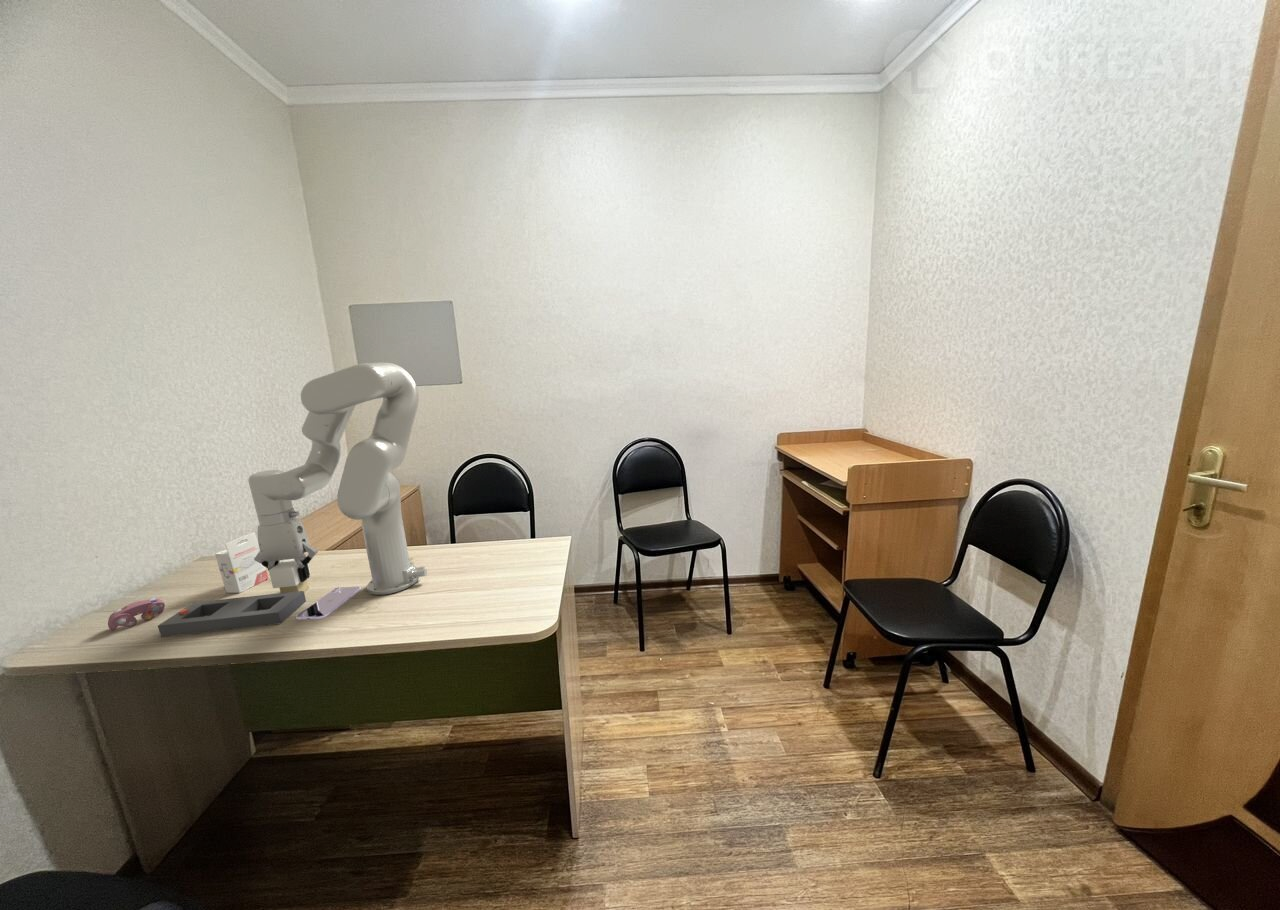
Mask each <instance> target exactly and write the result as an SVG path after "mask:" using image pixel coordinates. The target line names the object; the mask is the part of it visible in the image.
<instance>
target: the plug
mask: <svg viewBox="0 0 1280 910" xmlns="http://www.w3.org/2000/svg"><path fill="white" fill-rule="evenodd" d="M310 567H311V566H310V562H309V563H308V568H309V572H310V575H311V574H312V572H311V568H310ZM298 568H299V566H298V565H297V563H296V562H295V560H294V559H287V560H281V562H280V563H279V564H277V565H276V566H275V567H273V568H272V569H270V570H269V571H268V574H269V577H270V581H271V585H272V588H273V589H278V588H279V592H280V593H287V592H297V591H304V592H306V591H307V590H308V589H309V583H308V579H307V580H305V581H304V582H301V581H300V578H299V574H298Z"/></svg>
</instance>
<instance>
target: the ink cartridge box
mask: <svg viewBox="0 0 1280 910" xmlns="http://www.w3.org/2000/svg"><path fill="white" fill-rule="evenodd" d="M241 541H242V542H241ZM224 545H225V547H226V549H224V550H221V551H218V552H216V553H215V554H214V556H215V559H216V562H217V567H218V569H219V573H220V575H221V579H222V582H223V586H224V589H225V593H232V594H241V593H243V592H245V591H247V590H249V589H251V588H253V587H254V586H257V585H259V584H261V583H262V582H264V581H267V580H268V579H269V575H268V572H267V571H268V570H267V568H266V567H265V566H263V565H262V564H260V563H259V562H257V561H255V560H254V558H255V557H256V555H257V554H258V553H259V551H260V549H259V544H258V536H257V535H256V532H250V533H248V534H247V535H243V536H240V537H238V538H236V539H234V540H231V541H228V542H226V543H225V544H224ZM266 579H267V580H266Z"/></svg>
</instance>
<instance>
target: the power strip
mask: <svg viewBox="0 0 1280 910" xmlns="http://www.w3.org/2000/svg"><path fill="white" fill-rule="evenodd" d="M306 602H307V600H306V595H305V591H297V592H287V593H281V592H280V593H271V594H262V595H261V594H258V595H251V596H240V597H233V598H232V597H230V598H223V599H216V600H212V599H211V600H204V601H195V602H192V603H191V604H189V605H187V606H186V607H184V608H183V609H181V610H180V611H178V612H176V613H175V614H174V615H172V616H171V617H169V618H167V619H166V620H164V621H163V622H161V623H160V624H157V629H158V632H159V634H160V638H166V637H174V636H183V635H184V636H185V635H192V634H202V633H211V632H212V633H213V632H220V631H229V630H237V629H238V630H239V629H247V628H256V627H263V626H271V625H272V626H273V625H282V624H283V622H285V621H286V620H287V619H288V618H289V617H291V615H293V614H294V613H295V612H296V611H297V610H298V609H299V608H301V606H303V605H304V604H305V603H306Z"/></svg>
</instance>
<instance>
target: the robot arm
mask: <svg viewBox="0 0 1280 910" xmlns="http://www.w3.org/2000/svg"><path fill="white" fill-rule="evenodd" d="M419 397H420V395H419V389H418V386H417V383H416V382H415V379H414V378H413V376H412V375H411V374H410V373H409V372H408V371H407V370H405V368H403V367H402V366H400V365H398V364H395V363H392V362H385V361H384V362H382V361H379V362H364V363H358V364H355V365H352V366H349V367H346V368H345V367H344V368H343V369H340V370H337V371H334V372H331V373H328V374H325V375H323V376H319V377H316V378H313V379H311V380H309V381H308V382H307V383H305V385H304V386H303V387H302V389H301V392H300V400H301V405H302V406H303V407H304V408H305V409H306V411H308V413H307V416H306V417H305V420H304V423H303V424H302V427H301V433H302V435H303V436H304V437H306V438H307V439H308V440H310V441H311V442H312V444H311V448H310V452H309V454H308V457H307V458H306V460H305V463H304V464H303V465H300V466H297V467H295V468H293V469H290V470H288V471H285V472H284V471H283V470H279V469H269V470H263V471H259V472H256V473H253V474H251V475H250V476H249V478H248V485H249V490H250V492H251V495H252V496H251V497H252V500H253V506H254V508H255V512H256V516H257V520H258V524H259V525H258V526H257V540H258V544H259V549H260V551H259V553H258V554H257V555H256V557H255V558H254V560H255V561H257V562H259V563H260V564H262V565H263V566H265V568H266V569H267V571H268V572H269V570H270V569H272V568H273V567H275V566H276V565H277V564H279V563H280V561H283V560H287V559H294V560H295V562H296V563H297V565H298V566H299V568H298V574H299V578H300V581H301V582H304V581H305V580H307V581H308V579H309V578H310V575H311V574H310V572H309V568H308V563H309V564H310V562H311V561H312V559H314V557H315V556H316V555H317V554H318V552H319V551H318V550H317V549H316V548H315V547H314V546H312V545H311V542H310V539H309V537H308V534H307V531H306V528H305V527H304V525H303V523H302V520H301V519H300V518H299V516H300V512H299V511H297V510H295V508H294V506H293V501H298V500H301V499H303V498H306V497H307V496H311V494H313V493H315V492H318V491H319V490H322V489H323V488H324V487H326V486H327V485H328V483H330V481H331V479H332V477H333V476H334V474H335V471H336V469H337V467H338V465H339V462H340V459H341V448H342V447H341V439H342V437H343V434H344V432H345V431H346V430H345V429H346V427H347V425H348V423H349V421H350V418H351V416H352V415H353V412H354V410H355V408H356V406H358V405H360V404H364V403H366V402H369V401H372V400H376V399H377V400H378V399H382V403H381V405H380V408H379V409H378V411H377V413H376V416H375V420H374V424H373V428H372V430H371V434H370V436H368V438H366V439H363V440H361V441H359V442H357V443H355V445H354V446H353V447H352V448H351V449H350V451H349V452H348V453H347V454H348V455H347V457H346V459H345V461H344V462H345V464H344V467H343V470H342V471H343V472H342V475H341V479H340V481H339V487H338V489H337V497H336V500H337V501H336V502H337V506H338V508H339V510H340V512H341V513H342V514H343V516H345V517H346V518H348V519H351V520H361V527H362V535H363V540H364V544H365V549H366V553H367V555H366V556H367V559H368V564H369V569H370V570H369V571H370V573H371V580H370V581H369V582H368V583H367V586H366V590H367V592H368V593H369V594H372V595H377V596H379V595H381V596H382V595H389V594H394V593H398V592H401V591H403V590H407V589H408V588H410V587H412V586H413V585H415V584H416V583H417V582H418V580H420V579H419V578H420V577H421V578H422V577H427V574H428V570H427V568H426V566H424V565H423V566H418V567H416V566H415V562H414V561H410V557H409V551H408V549H409V548H408V544H407V539H406V533H405V528H404V521H403V515H402V514H403V513H402V505H401V503H402V501H401V500H402V497H401V495H402V494H401V487H400V486H401V485H400V483H399V481H398V479H397V477H395V476H394V474H392V473H390V472H392V471H393V470H395V469H396V468H397V467H400V466H401V464H402V463H403V462H404V460H405V457H406V454H407V453H406V452H407V449H408V446H409V445H408V444H409V442H410V438H411V433H412V429H413V425H414V423H415V422H414V421H415V418H416V415H417V411H418V406H419V402H420V401H419ZM305 553H307V555H306V554H305Z"/></svg>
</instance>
